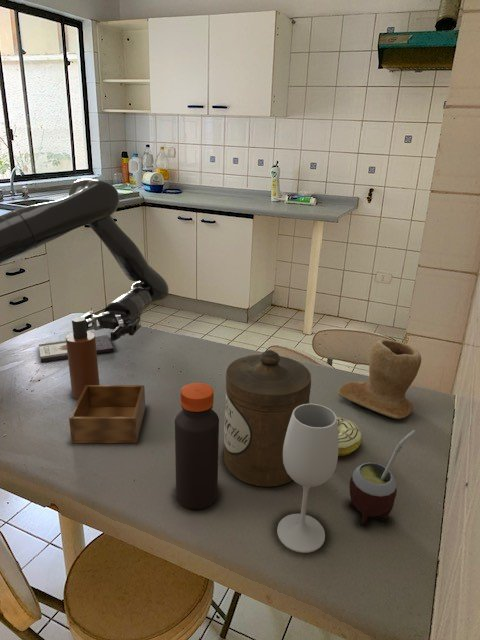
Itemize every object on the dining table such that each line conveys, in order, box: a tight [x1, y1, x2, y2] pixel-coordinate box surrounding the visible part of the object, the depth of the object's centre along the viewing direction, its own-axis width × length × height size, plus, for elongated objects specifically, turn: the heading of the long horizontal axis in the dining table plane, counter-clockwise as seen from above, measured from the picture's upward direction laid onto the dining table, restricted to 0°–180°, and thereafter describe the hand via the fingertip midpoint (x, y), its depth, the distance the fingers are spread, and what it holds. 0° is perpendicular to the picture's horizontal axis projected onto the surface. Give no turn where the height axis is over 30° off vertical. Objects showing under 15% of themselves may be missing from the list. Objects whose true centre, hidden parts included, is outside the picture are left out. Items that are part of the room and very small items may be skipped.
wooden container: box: [223, 349, 312, 488], centre depth 81 cm, size 15×15×22 cm
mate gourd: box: [348, 429, 417, 527], centre depth 72 cm, size 8×8×15 cm
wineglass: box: [276, 403, 339, 554], centre depth 66 cm, size 8×8×21 cm
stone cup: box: [337, 339, 422, 420], centre depth 102 cm, size 15×12×15 cm
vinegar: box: [174, 382, 220, 510], centre depth 73 cm, size 7×7×20 cm
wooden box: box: [68, 384, 146, 444], centre depth 93 cm, size 12×12×6 cm
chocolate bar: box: [38, 334, 115, 363], centre depth 124 cm, size 9×1×18 cm
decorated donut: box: [336, 415, 362, 457], centre depth 90 cm, size 10×11×4 cm
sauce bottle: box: [65, 316, 100, 400], centre depth 101 cm, size 6×6×18 cm
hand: (94, 335), depth 105 cm, fingers open, 8 cm apart
